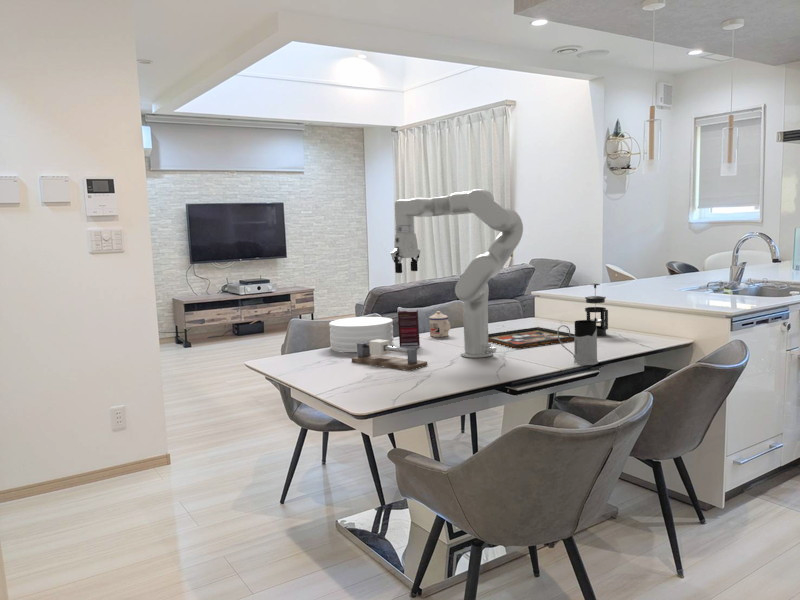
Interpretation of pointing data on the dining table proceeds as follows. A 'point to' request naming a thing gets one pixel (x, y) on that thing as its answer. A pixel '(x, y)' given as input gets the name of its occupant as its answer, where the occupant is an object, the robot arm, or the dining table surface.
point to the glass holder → (584, 342)
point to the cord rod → (364, 349)
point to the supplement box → (408, 329)
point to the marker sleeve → (379, 347)
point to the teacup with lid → (439, 325)
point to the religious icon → (529, 337)
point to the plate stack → (359, 332)
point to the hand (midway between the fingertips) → (406, 272)
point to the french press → (604, 320)
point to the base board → (389, 362)
